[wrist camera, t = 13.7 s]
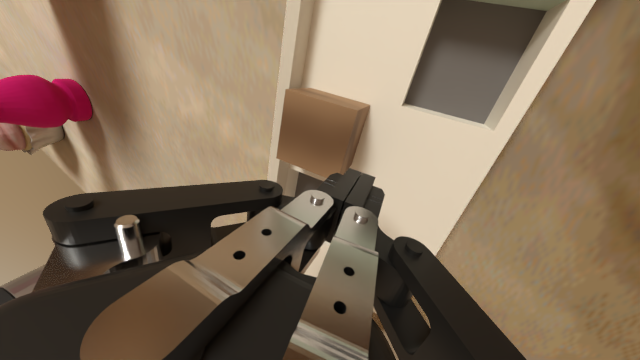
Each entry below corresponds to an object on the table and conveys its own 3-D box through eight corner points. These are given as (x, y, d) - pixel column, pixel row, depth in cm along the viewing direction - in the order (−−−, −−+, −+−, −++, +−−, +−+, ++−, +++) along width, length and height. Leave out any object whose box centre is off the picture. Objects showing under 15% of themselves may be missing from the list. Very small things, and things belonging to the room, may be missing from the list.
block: (351, 164, 19) (337, 182, 16) (300, 145, 20) (276, 158, 17) (370, 104, 17) (357, 110, 13) (310, 87, 18) (285, 88, 15)
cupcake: (73, 128, 40) (-20, 140, 32) (67, 156, 45) (-14, 173, 37) (37, 85, 40) (-68, 86, 31) (35, 118, 44) (-56, 127, 36)
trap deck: (395, 299, 27) (391, 340, 22) (280, 242, 31) (257, 268, 26) (652, -136, 11) (803, -278, 7) (342, -135, 15) (311, -223, 11)
